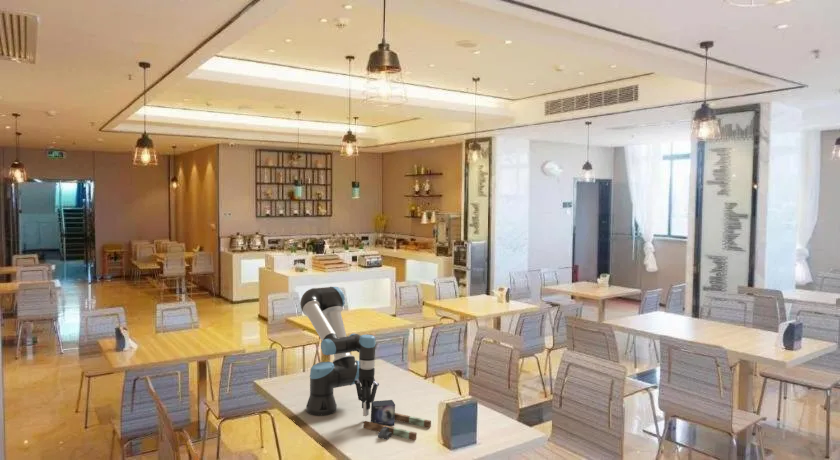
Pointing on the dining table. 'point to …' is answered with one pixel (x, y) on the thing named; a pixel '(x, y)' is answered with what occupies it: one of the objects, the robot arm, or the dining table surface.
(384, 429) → the fulcrum
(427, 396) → the dining table surface
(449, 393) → the dining table surface
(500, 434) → the dining table surface
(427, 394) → the dining table surface
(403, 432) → the beam slot
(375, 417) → the small box
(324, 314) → the robot arm
